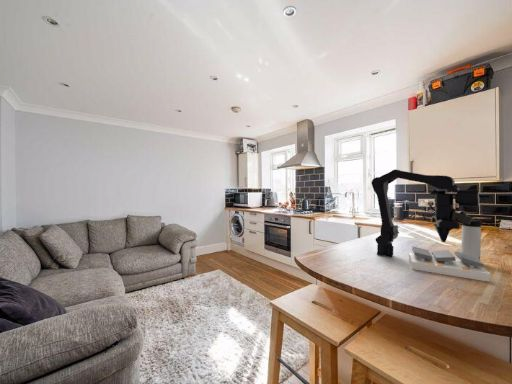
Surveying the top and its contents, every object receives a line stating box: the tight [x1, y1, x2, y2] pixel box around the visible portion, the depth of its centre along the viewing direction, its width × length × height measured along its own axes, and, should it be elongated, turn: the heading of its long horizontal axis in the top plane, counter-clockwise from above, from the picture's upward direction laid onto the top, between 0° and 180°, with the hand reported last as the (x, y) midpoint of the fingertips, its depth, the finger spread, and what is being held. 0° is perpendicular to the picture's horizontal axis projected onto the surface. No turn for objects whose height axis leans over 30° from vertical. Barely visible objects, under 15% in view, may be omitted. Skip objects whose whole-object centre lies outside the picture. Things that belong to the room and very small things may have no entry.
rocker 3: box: [453, 250, 485, 268], centre depth 87 cm, size 6×11×1 cm, turn 149°
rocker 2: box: [430, 249, 457, 261], centre depth 91 cm, size 6×11×1 cm, turn 148°
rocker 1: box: [411, 245, 433, 260], centre depth 95 cm, size 6×11×1 cm, turn 149°
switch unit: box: [408, 252, 491, 282], centre depth 90 cm, size 23×15×4 cm, turn 58°
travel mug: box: [460, 218, 482, 262], centre depth 98 cm, size 6×7×20 cm
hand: (443, 241), depth 91 cm, fingers closed
